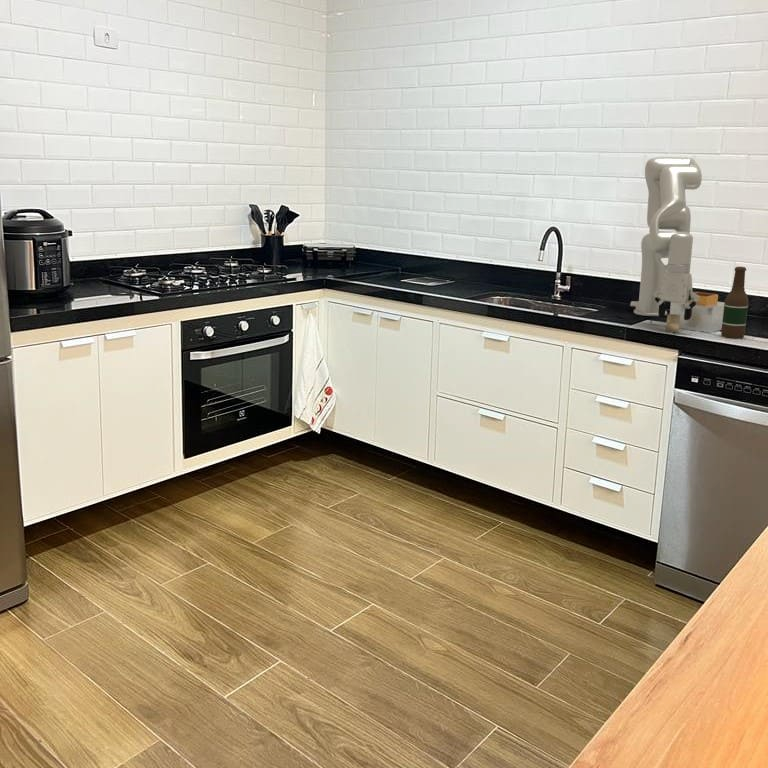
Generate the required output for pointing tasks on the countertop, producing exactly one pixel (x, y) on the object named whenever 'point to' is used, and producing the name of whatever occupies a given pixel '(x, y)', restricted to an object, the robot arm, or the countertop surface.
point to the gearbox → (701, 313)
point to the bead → (673, 323)
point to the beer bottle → (735, 307)
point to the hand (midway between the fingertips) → (674, 317)
